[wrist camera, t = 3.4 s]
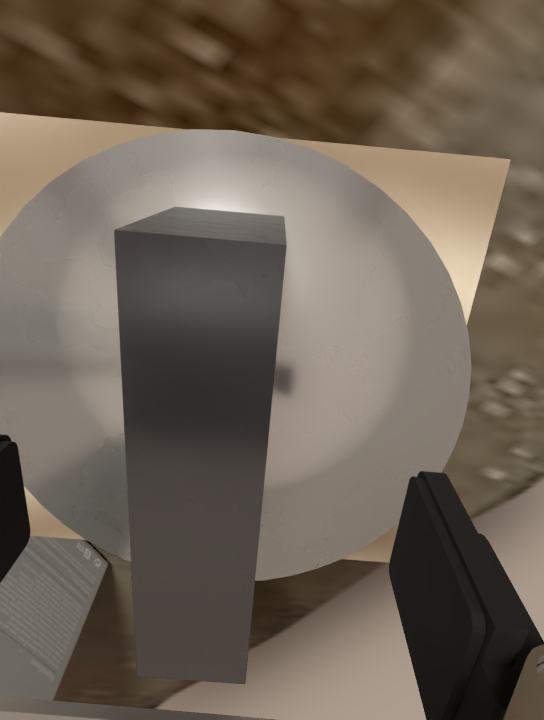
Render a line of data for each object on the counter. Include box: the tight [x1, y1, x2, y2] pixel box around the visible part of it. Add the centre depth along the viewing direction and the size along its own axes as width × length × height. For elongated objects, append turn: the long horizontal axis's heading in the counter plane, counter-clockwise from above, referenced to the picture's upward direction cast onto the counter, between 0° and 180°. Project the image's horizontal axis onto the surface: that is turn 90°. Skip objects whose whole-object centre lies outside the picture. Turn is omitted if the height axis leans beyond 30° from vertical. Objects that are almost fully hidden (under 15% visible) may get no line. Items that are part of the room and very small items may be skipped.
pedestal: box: [0, 112, 511, 563], centre depth 19 cm, size 16×16×6 cm
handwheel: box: [0, 130, 471, 684], centre depth 13 cm, size 16×16×6 cm
